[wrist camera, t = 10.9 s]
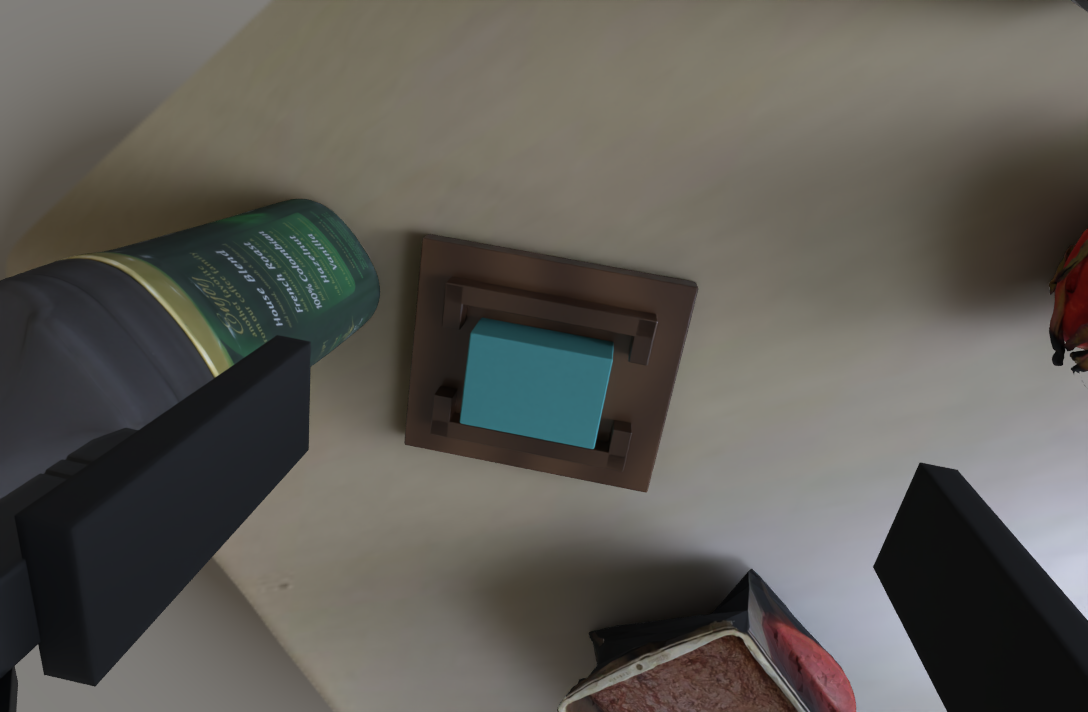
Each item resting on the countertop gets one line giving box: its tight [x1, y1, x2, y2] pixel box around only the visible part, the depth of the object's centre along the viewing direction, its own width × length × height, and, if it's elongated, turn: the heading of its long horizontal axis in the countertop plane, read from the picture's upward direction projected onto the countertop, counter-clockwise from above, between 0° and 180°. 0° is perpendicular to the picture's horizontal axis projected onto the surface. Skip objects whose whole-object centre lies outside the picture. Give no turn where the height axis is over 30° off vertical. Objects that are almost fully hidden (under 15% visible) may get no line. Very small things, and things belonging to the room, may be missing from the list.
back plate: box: [405, 234, 698, 492], centre depth 35 cm, size 14×12×2 cm
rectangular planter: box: [557, 569, 856, 712], centre depth 38 cm, size 14×18×10 cm
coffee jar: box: [0, 199, 380, 499], centre depth 27 cm, size 10×8×19 cm
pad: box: [459, 318, 614, 449], centre depth 34 cm, size 7×5×3 cm
